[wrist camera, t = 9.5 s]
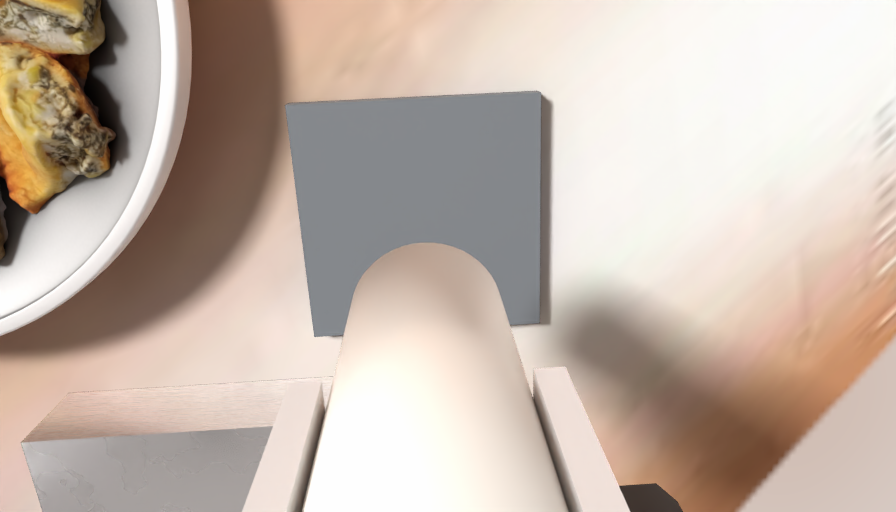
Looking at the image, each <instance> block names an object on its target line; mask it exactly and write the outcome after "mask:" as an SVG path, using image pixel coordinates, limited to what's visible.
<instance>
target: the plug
mask: <svg viewBox="0 0 896 512" xmlns="http://www.w3.org/2000/svg"><path fill="white" fill-rule="evenodd" d="M301 512H569V510H568V507H567V504H566V501H565V498H564V494H563V491H562V488H561V485H560V482H559V479H558V475H557V472H556V469H555V466H554V463H553V460H552V457H551V453H550V450H549V447H548V444H547V441H546V438H545V435H544V431H543V428H542V425H541V422H540V419H539V416H538V413H537V409H536V406H535V403H534V400H533V397H532V394H531V391H530V387H529V384H528V381H527V378H526V375H525V372H524V369H523V365H522V362H521V359H520V356H519V353H518V350H517V346H516V343H515V340H514V337H513V334H512V331H511V328H510V324H509V321H508V318H507V315H506V312H505V309H504V306H503V302H502V299H501V296H500V293H499V290H498V288H497V285H496V283H495V281H494V279H493V278H492V276H491V274H490V273H489V272H488V270H487V269H486V268H485V267H484V266H483V265H482V264H481V263H480V262H479V261H478V260H477V259H475V258H474V257H473V256H471V255H470V254H468V253H466V252H464V251H462V250H460V249H458V248H455V247H453V246H449V245H445V244H439V243H415V244H410V245H405V246H402V247H399V248H397V249H394V250H392V251H390V252H388V253H386V254H384V255H383V256H382V257H380V258H379V259H377V260H376V261H375V262H374V263H373V264H372V265H371V266H370V267H369V268H368V269H367V270H366V271H365V273H364V274H363V275H362V277H361V279H360V280H359V282H358V284H357V286H356V289H355V291H354V294H353V298H352V302H351V306H350V310H349V315H348V319H347V323H346V327H345V331H344V335H343V340H342V344H341V348H340V352H339V356H338V361H337V365H336V369H335V373H334V377H333V381H332V386H331V390H330V394H329V398H328V402H327V407H326V411H325V415H324V419H323V423H322V427H321V432H320V436H319V440H318V444H317V448H316V453H315V457H314V461H313V465H312V469H311V473H310V478H309V482H308V486H307V490H306V494H305V499H304V503H303V507H302V511H301Z"/></svg>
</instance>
